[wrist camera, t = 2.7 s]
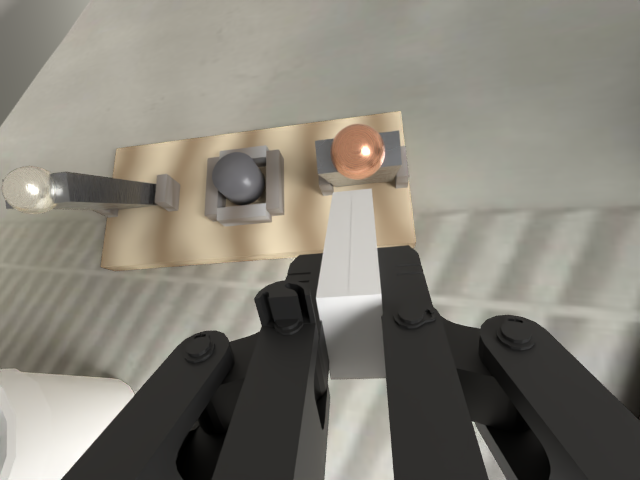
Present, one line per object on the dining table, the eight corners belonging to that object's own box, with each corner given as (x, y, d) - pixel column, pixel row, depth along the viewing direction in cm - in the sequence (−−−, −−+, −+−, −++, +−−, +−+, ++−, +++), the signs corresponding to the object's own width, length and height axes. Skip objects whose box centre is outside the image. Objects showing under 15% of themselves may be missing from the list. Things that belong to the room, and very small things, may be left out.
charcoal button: (265, 163, 34) (256, 149, 32) (265, 203, 33) (255, 191, 31) (225, 168, 35) (213, 154, 32) (223, 207, 34) (211, 196, 31)
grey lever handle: (164, 179, 36) (40, 159, 23) (168, 211, 36) (47, 210, 23) (119, 184, 37) (-28, 167, 23) (123, 215, 37) (-20, 217, 24)
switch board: (400, 123, 37) (402, 94, 32) (414, 248, 33) (418, 234, 29) (128, 157, 41) (99, 136, 37) (114, 271, 37) (80, 261, 33)
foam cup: (158, 360, 34) (31, 369, 22) (149, 472, 32) (-2, 555, 19) (68, 363, 36) (-99, 373, 23) (53, 471, 33) (-146, 547, 21)
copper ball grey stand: (389, 153, 33) (400, 111, 19) (392, 188, 33) (405, 171, 20) (334, 159, 34) (308, 123, 20) (337, 194, 34) (314, 181, 20)
